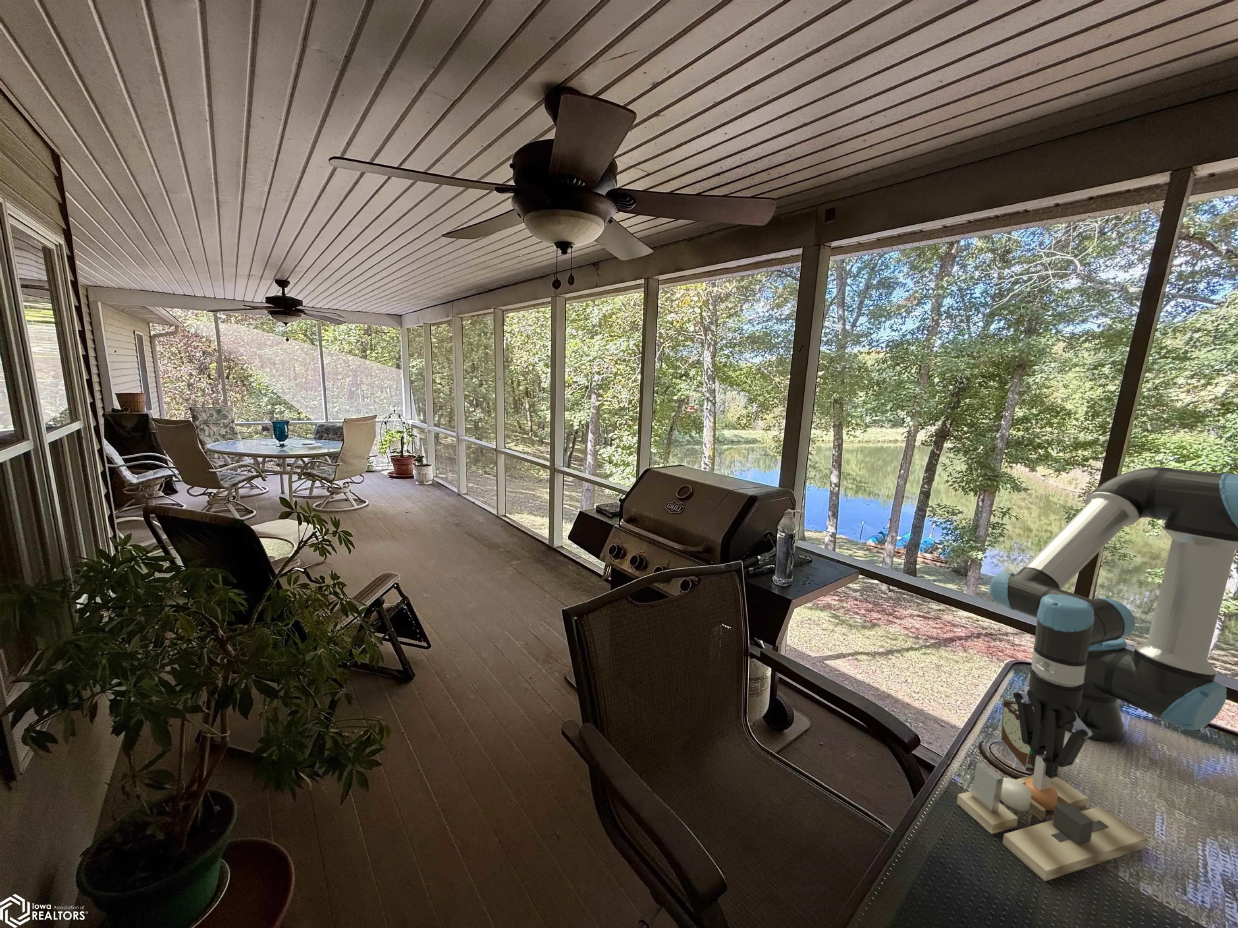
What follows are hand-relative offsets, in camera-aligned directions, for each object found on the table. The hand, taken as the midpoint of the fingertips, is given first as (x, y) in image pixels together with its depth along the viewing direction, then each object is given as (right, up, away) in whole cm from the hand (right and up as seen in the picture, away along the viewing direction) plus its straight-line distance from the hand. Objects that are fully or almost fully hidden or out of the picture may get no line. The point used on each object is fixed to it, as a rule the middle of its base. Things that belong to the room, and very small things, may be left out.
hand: (1041, 786), depth 95 cm
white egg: (-7, -2, -2) cm, 7 cm away
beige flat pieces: (-3, -4, -4) cm, 7 cm away
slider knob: (-2, -3, -8) cm, 9 cm away
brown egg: (0, -3, 0) cm, 3 cm away
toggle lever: (-13, -2, -2) cm, 13 cm away
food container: (+8, -2, +13) cm, 15 cm away
